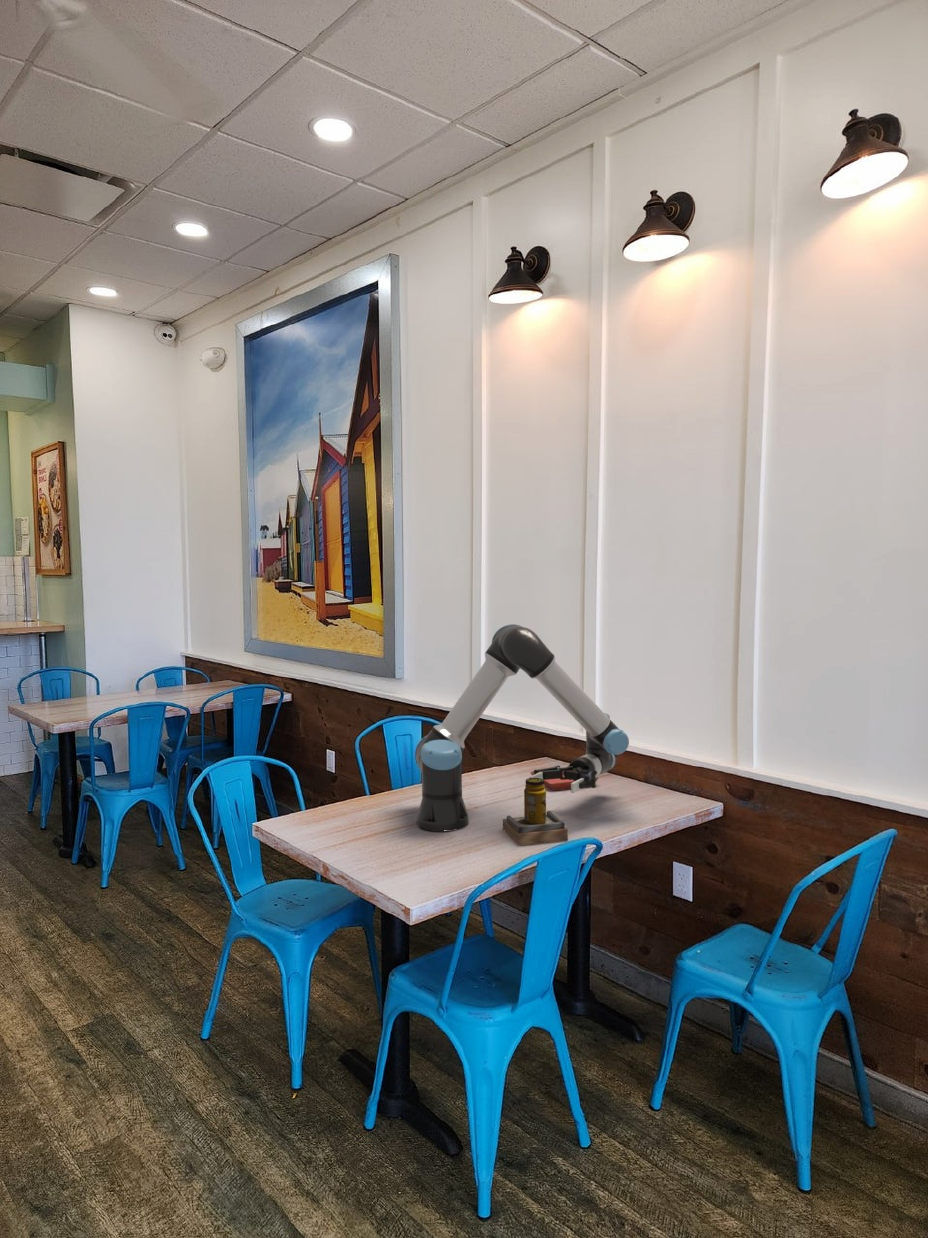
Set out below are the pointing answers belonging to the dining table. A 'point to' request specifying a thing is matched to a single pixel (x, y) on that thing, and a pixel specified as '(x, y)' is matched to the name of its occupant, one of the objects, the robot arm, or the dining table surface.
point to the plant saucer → (557, 783)
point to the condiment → (534, 803)
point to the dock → (536, 830)
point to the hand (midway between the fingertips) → (550, 785)
